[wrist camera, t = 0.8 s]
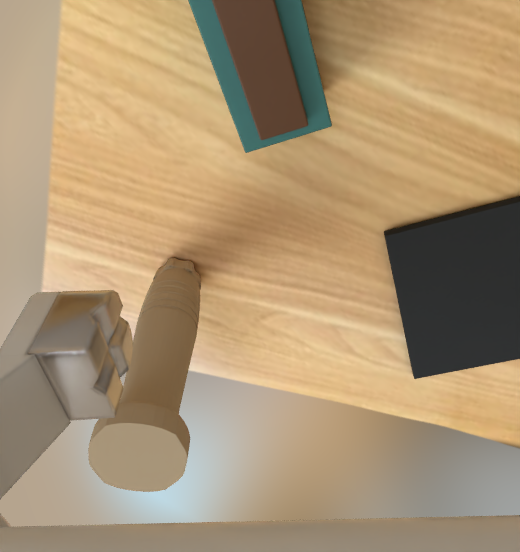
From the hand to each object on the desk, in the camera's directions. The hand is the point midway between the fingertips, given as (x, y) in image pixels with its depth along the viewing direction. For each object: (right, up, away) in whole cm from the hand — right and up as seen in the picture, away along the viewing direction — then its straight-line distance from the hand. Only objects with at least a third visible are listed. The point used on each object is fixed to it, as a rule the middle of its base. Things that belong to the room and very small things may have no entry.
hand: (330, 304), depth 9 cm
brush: (-1, +14, +16) cm, 21 cm away
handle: (-7, +1, +27) cm, 28 cm away
